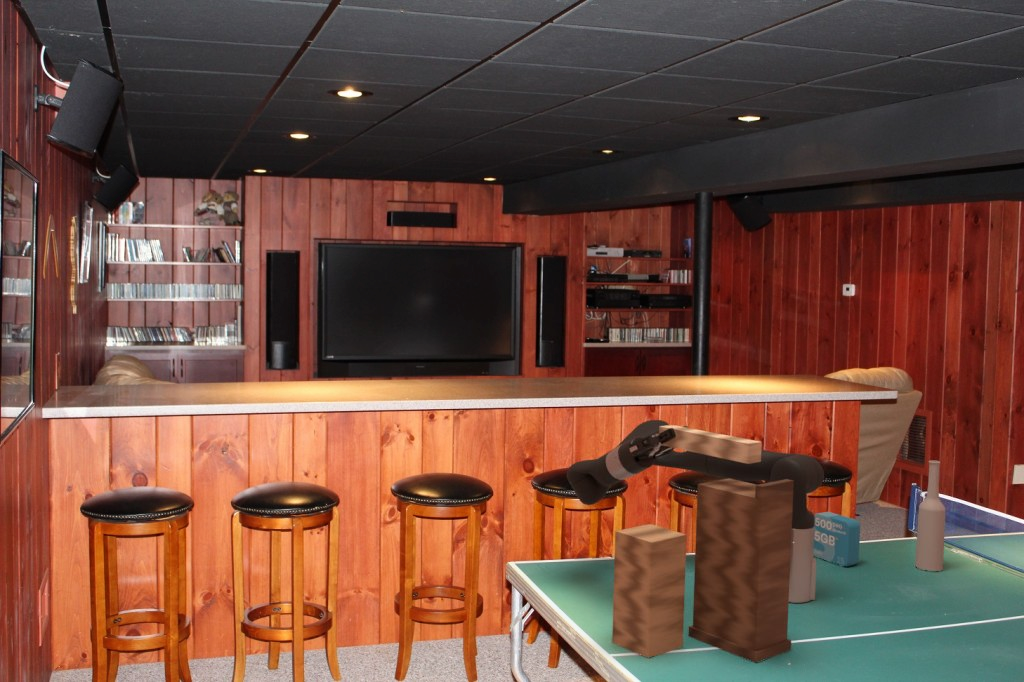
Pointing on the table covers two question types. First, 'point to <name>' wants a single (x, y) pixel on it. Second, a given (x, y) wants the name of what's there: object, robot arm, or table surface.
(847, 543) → the data package
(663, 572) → the light wooden pillar block
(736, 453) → the brown wooden block
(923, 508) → the bottle
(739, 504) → the tall walnut stand
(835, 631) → the table surface
